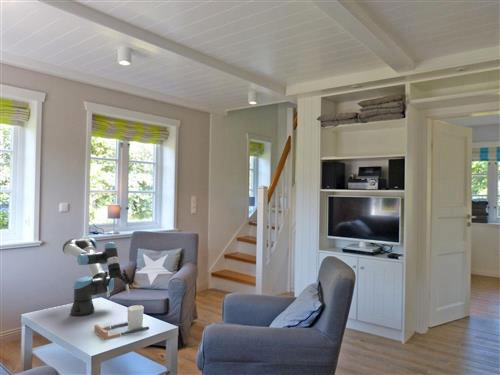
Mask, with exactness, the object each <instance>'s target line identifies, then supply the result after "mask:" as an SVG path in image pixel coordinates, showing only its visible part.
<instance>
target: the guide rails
mask: <svg viewBox="0 0 500 375" xmlns="http://www.w3.org/2000/svg"><path fill="white" fill-rule="evenodd" d="M123 326H124V327H125V326H128V321H124V322H120V323H115V324H112V325H110V329H115V328H117V329H118V328H120V327H123ZM149 328H150V326H149V325H144V326H142V327H140V328H136V329H129V330H125V331H121V332H120V333H121V336H126V335H129V334H130V335H131V334H133V333H137V332H142V331H145V330H148V329H149Z"/></svg>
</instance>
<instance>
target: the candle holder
mask: <svg viewBox="0 0 500 375" xmlns="http://www.w3.org/2000/svg"><path fill="white" fill-rule="evenodd" d="M126 310H127V322H128V325H127V328H128V329H129V330H132V329H136V328H140V327H143V323H144V322H143V320H144V310H145V307H144V306H143V305H140V304H139V305H138V304H137V305H131V306H128V307H127V309H126Z"/></svg>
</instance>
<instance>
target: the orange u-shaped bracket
mask: <svg viewBox="0 0 500 375" xmlns="http://www.w3.org/2000/svg"><path fill="white" fill-rule="evenodd" d="M93 327H94V329H93V330H94V333H95V334H97V336H100V337H101V338H102V339H103V340H106V341H107V340H111V339H114V338H119V337H121V336H122V335H121V332H117V333H113V334H109V332H108V330H111V325H106V326H102V327H101V326H100V325H99V324H94V326H93Z"/></svg>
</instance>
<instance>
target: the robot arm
mask: <svg viewBox="0 0 500 375" xmlns="http://www.w3.org/2000/svg"><path fill="white" fill-rule="evenodd" d="M97 248H98V245H97V241H96V239H95V238H93V237H84V238H83V237H81V238H70V239H68V240H67V241H65V242H64V243H63V245H62V252H63V254H65V255H66V256H70V257H73V258H74V259H76V261H77V264H78V265H79V266H87V269H88V271H89V273H90V276H84V277H80V278H77V279H75V281H74V283H73V302H72V305H71V308H70V310H69V311H70V313H69V314H70V315H71V316H74V317H84V316H89V315H91V314H94V313H95V306H94V302H93V296H99V295H105V294H106V298H109V297H111V295H110V293H112V292H113V290H114V288H115V287H114V286H115V281H114V280H115V279H120V280H121V281H122V282H123V283H124V284H125V290H126V294H127V295H129V294H131V293H130V288H131V285H130V284H131V283H132V282H133V280H132V279H131V278H130V277H129V275H128V273H126V270H125V269H124V270H121V266H120V261H119V260H120V259H119V255H118V248H117V245H116V243H115V242H113V241H111V242H107V243H104V250H103V251H98V252H97ZM106 264H107V271H104V269H103V267H102V265H106Z"/></svg>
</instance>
